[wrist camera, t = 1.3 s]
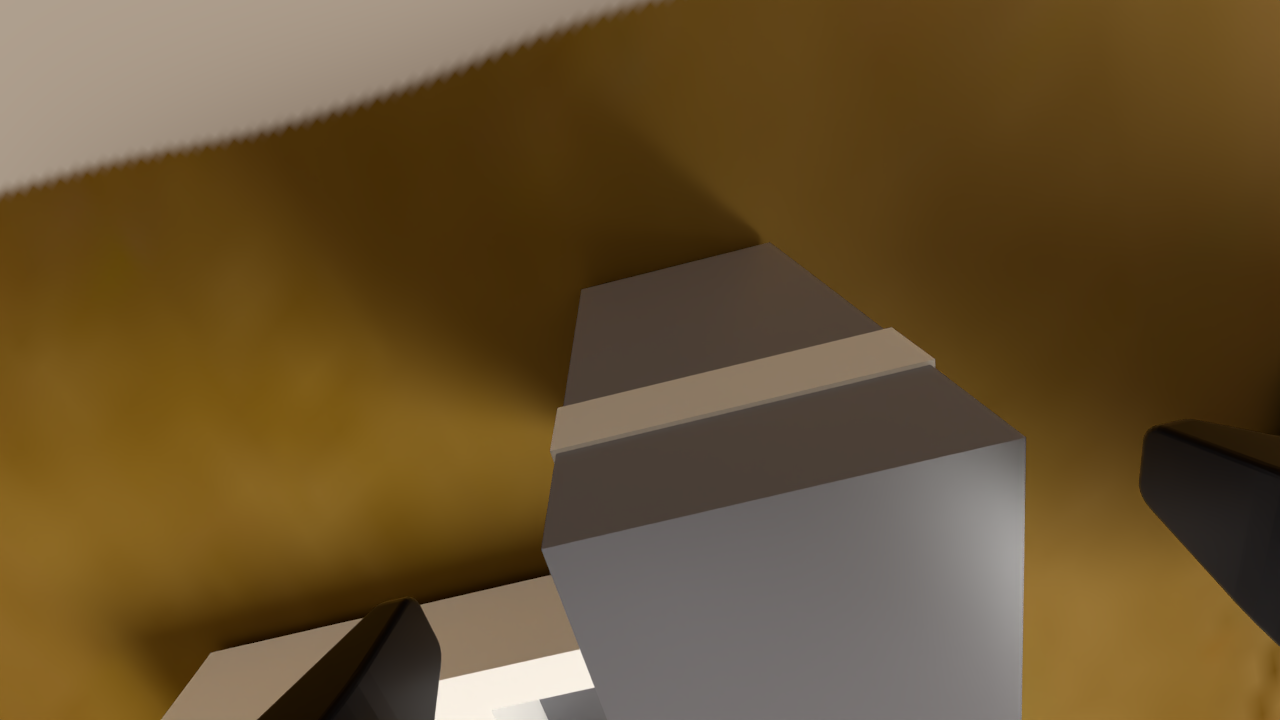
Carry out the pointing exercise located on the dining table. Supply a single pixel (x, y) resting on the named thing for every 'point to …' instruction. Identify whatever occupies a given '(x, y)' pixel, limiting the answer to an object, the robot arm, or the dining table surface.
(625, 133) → the dining table surface
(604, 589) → the plug
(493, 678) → the socket plate
